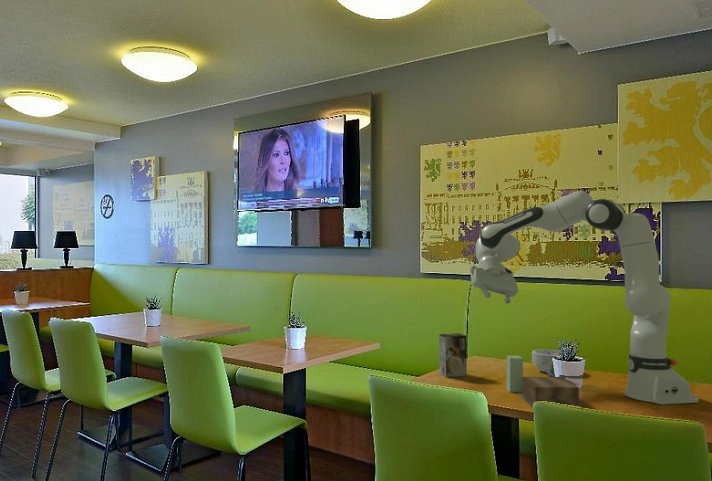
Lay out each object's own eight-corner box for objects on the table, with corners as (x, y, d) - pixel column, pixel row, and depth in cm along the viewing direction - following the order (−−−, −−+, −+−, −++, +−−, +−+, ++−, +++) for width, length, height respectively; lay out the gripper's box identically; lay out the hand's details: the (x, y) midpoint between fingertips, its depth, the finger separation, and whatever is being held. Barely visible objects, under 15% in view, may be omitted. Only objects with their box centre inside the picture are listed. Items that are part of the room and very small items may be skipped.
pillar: (518, 389, 204) (519, 355, 204) (522, 392, 199) (522, 358, 199) (506, 388, 204) (506, 355, 204) (509, 392, 199) (510, 358, 199)
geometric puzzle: (570, 378, 212) (564, 358, 217) (553, 378, 211) (547, 358, 216) (562, 385, 217) (556, 366, 222) (546, 386, 216) (540, 366, 221)
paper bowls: (565, 367, 239) (565, 349, 239) (575, 376, 224) (575, 356, 224) (528, 366, 241) (528, 348, 241) (536, 375, 226) (536, 355, 226)
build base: (564, 394, 196) (564, 376, 196) (583, 408, 180) (583, 388, 180) (518, 394, 196) (518, 376, 196) (533, 407, 180) (533, 387, 180)
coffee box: (459, 372, 229) (460, 332, 229) (466, 376, 222) (467, 335, 222) (438, 373, 226) (439, 333, 226) (445, 377, 220) (445, 336, 220)
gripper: (474, 260, 220) (480, 289, 211) (516, 272, 227) (524, 301, 218) (465, 269, 224) (470, 298, 215) (506, 281, 231) (514, 309, 222)
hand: (498, 300), depth 216 cm, fingers open, 8 cm apart
